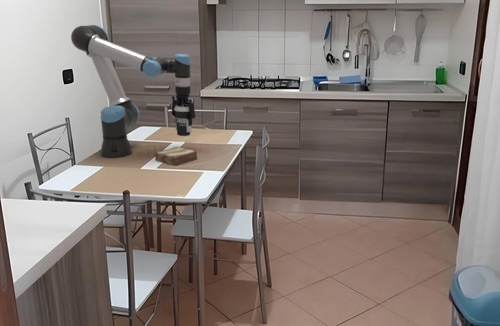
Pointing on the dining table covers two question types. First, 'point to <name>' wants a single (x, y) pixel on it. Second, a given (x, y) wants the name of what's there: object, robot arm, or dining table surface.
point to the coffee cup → (181, 120)
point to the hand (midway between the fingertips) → (183, 130)
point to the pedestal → (176, 156)
